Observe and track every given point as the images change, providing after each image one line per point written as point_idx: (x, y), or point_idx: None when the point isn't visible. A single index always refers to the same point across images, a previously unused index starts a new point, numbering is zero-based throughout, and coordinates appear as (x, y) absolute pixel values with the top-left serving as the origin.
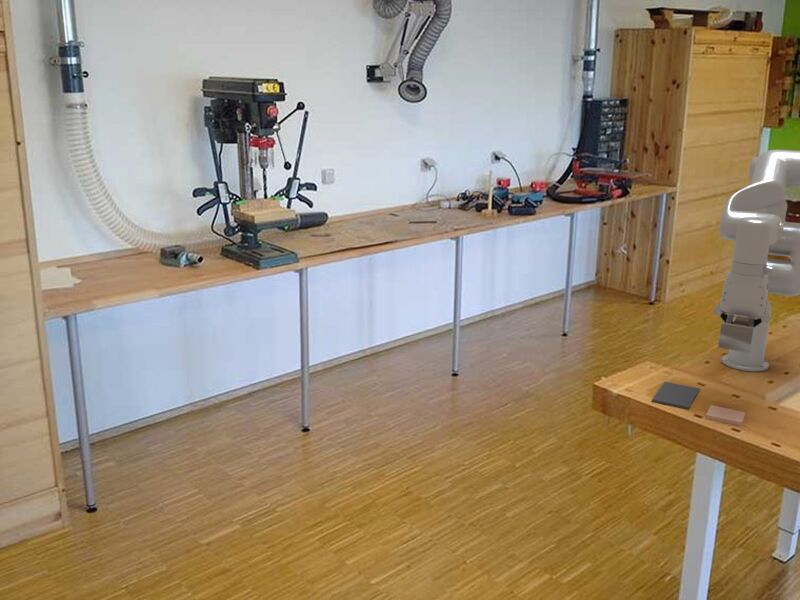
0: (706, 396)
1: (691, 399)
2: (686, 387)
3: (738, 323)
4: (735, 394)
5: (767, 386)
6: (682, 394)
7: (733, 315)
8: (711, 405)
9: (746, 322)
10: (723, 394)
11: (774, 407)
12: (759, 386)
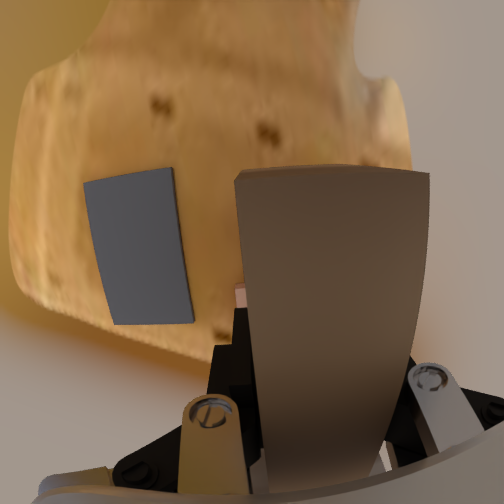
0: (200, 194)
1: (179, 270)
2: (138, 187)
3: (312, 469)
4: (266, 122)
5: (325, 16)
6: (149, 249)
7: (244, 484)
8: (237, 290)
9: (385, 411)
10: (236, 145)
11: (373, 162)
12: (308, 25)
